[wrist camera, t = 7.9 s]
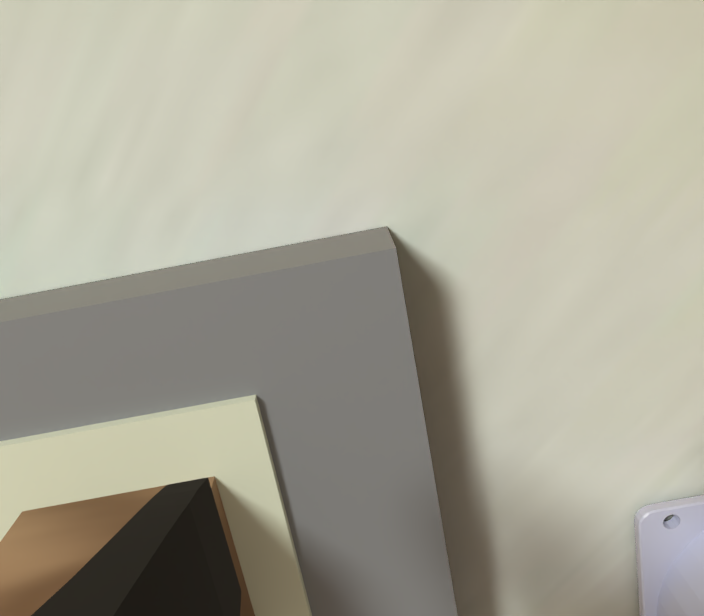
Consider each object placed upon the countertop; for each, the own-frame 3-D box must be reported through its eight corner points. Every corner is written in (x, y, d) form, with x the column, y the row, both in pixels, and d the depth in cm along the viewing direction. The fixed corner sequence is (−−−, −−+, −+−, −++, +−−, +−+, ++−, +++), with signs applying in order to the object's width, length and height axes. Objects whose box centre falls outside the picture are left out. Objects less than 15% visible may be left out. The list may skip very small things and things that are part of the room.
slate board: (386, 226, 18) (397, 250, 15) (456, 635, 22) (473, 709, 20) (-191, 335, 18) (-279, 377, 16) (-11, 716, 23) (-56, 800, 20)
